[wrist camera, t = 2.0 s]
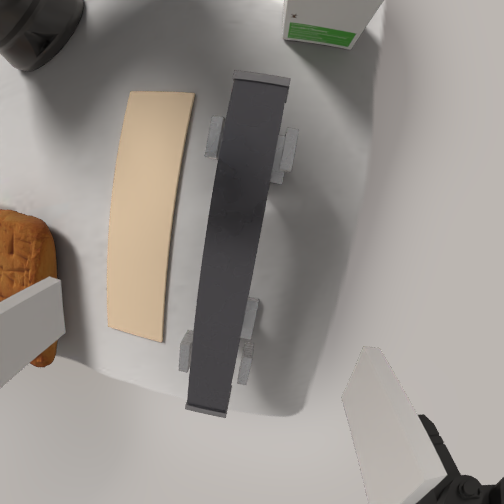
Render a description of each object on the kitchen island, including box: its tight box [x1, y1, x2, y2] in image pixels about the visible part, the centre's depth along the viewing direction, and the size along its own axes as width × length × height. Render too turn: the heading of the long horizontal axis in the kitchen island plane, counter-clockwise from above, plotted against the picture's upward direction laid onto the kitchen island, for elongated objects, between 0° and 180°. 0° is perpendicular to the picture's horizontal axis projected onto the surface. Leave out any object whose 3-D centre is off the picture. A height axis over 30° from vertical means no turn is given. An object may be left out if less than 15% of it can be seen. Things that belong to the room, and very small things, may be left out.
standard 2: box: [205, 116, 299, 184], centre depth 24 cm, size 5×6×10 cm
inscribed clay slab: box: [0, 209, 58, 367], centre depth 31 cm, size 22×17×8 cm
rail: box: [185, 70, 291, 418], centre depth 21 cm, size 27×4×4 cm, turn 170°
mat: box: [107, 91, 195, 342], centre depth 31 cm, size 30×8×1 cm, turn 170°
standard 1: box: [179, 297, 259, 385], centre depth 28 cm, size 5×6×10 cm
